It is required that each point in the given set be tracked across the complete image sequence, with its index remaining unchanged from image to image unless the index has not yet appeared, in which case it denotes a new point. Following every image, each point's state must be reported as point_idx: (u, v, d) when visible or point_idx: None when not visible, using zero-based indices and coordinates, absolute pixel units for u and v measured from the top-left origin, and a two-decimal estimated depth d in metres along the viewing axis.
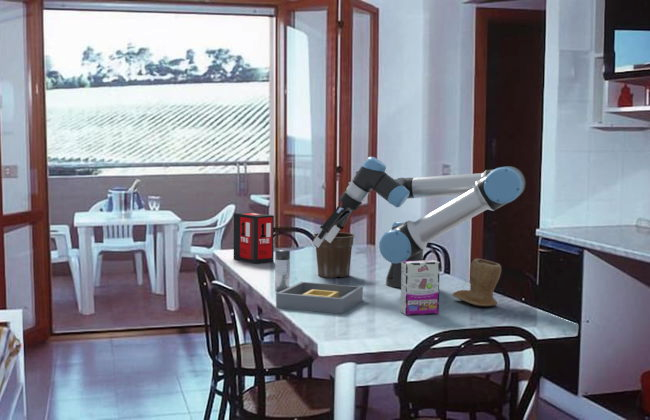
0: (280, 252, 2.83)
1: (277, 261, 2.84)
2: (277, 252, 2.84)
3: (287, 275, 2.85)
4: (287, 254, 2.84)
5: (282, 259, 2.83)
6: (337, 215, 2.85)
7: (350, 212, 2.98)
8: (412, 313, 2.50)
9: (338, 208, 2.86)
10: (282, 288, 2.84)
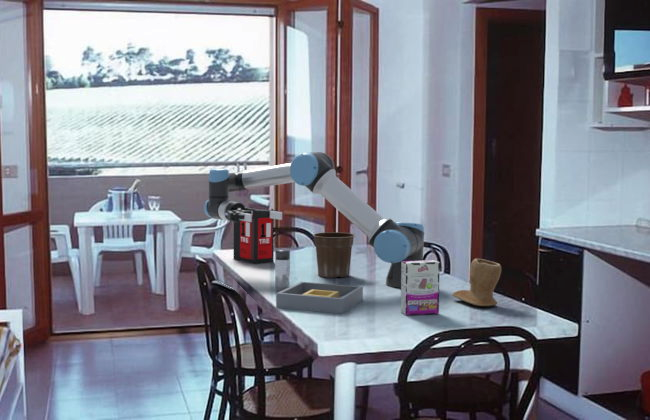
0: (280, 252, 2.83)
1: (277, 261, 2.84)
2: (277, 252, 2.84)
3: (287, 275, 2.85)
4: (287, 254, 2.84)
5: (282, 259, 2.83)
6: (227, 212, 2.97)
7: (256, 209, 3.06)
8: (412, 313, 2.50)
9: (225, 215, 2.99)
10: (282, 288, 2.84)
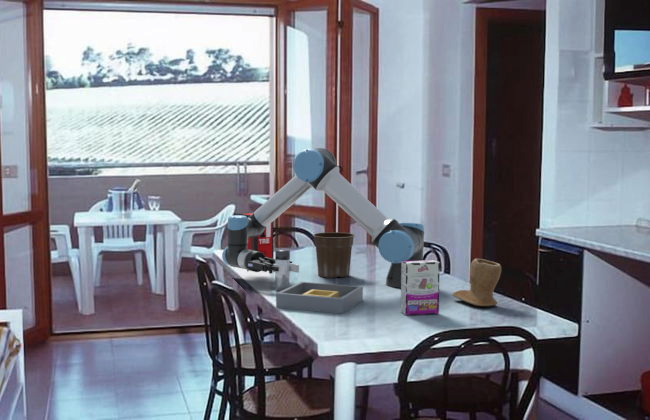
0: (280, 252, 2.83)
1: (277, 261, 2.84)
2: (277, 252, 2.84)
3: (287, 275, 2.85)
4: (287, 254, 2.84)
5: (282, 259, 2.83)
6: (253, 263, 2.89)
7: None
8: (412, 313, 2.50)
9: (249, 266, 2.90)
10: (282, 288, 2.84)
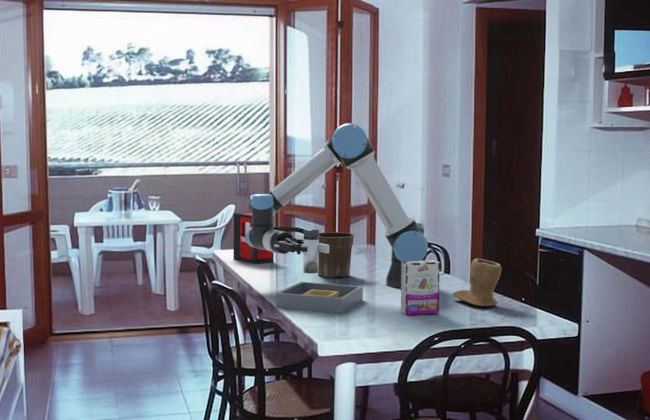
0: (309, 231, 2.64)
1: (305, 241, 2.65)
2: (305, 231, 2.64)
3: (316, 256, 2.65)
4: (316, 233, 2.64)
5: (311, 239, 2.64)
6: (280, 244, 2.69)
7: None
8: (412, 313, 2.50)
9: (275, 247, 2.71)
10: (311, 270, 2.65)
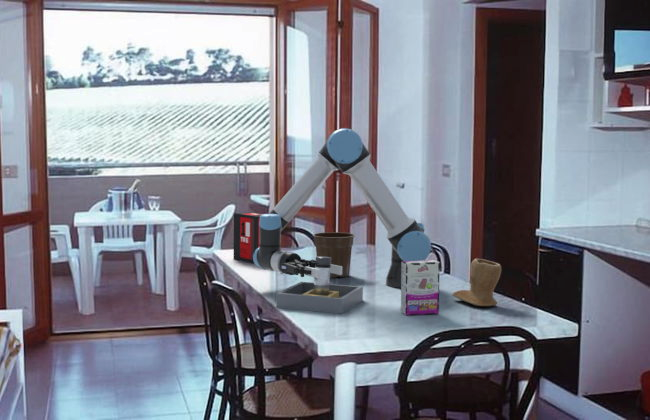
0: (321, 259, 2.62)
1: (317, 268, 2.63)
2: (318, 259, 2.62)
3: (327, 284, 2.63)
4: (328, 262, 2.63)
5: (323, 267, 2.62)
6: (286, 266, 2.67)
7: (313, 260, 2.75)
8: (412, 313, 2.50)
9: (282, 269, 2.69)
10: None
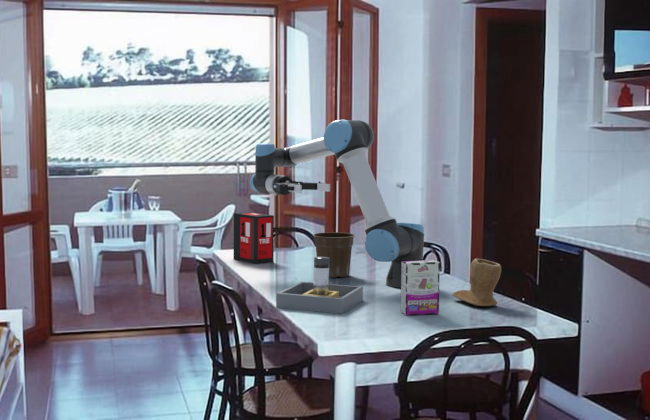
0: (320, 260, 2.62)
1: (316, 269, 2.62)
2: (316, 259, 2.62)
3: (326, 284, 2.63)
4: (327, 262, 2.62)
5: (322, 267, 2.62)
6: (276, 185, 3.03)
7: (303, 182, 3.11)
8: (412, 313, 2.50)
9: (274, 188, 3.05)
10: None
